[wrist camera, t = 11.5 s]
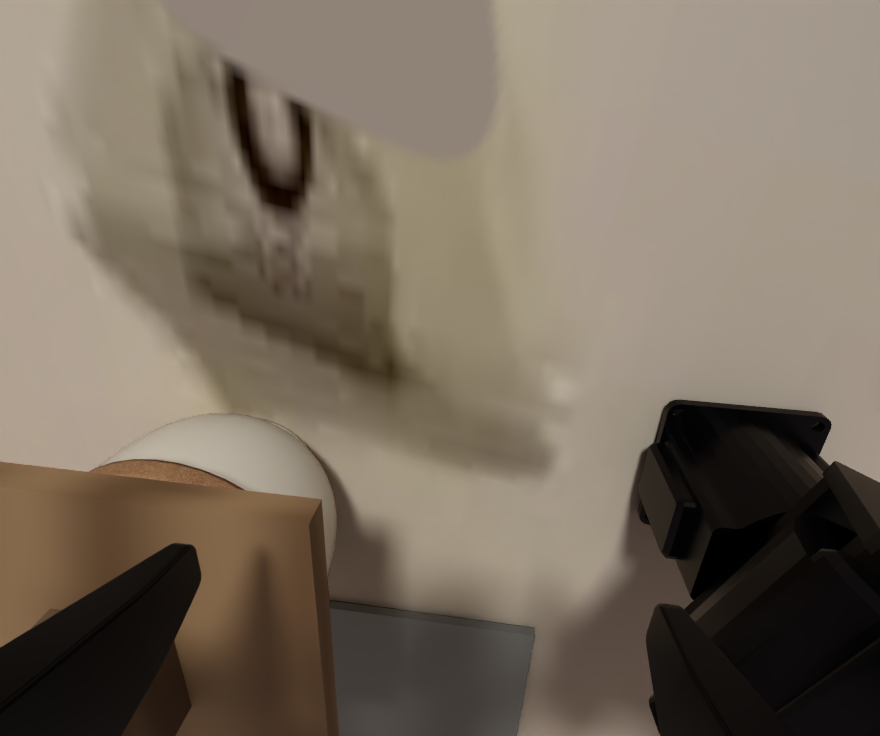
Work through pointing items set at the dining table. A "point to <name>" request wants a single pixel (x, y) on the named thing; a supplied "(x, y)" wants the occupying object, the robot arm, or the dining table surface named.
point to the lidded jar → (230, 460)
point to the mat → (427, 673)
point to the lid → (214, 606)
